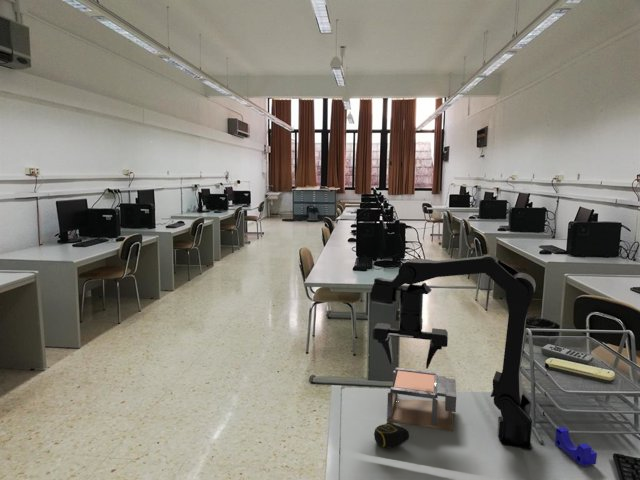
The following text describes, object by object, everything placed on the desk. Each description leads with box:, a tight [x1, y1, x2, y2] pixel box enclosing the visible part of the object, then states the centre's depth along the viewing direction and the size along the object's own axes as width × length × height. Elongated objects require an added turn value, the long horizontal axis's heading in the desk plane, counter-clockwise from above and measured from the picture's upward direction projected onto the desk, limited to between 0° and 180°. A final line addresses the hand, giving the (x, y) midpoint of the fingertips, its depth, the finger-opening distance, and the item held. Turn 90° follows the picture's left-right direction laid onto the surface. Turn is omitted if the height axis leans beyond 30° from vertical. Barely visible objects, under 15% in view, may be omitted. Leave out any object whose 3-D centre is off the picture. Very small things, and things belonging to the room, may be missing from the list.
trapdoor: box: [394, 371, 457, 413], centre depth 112 cm, size 15×10×5 cm, turn 74°
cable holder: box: [554, 426, 598, 467], centre depth 96 cm, size 8×4×4 cm, turn 11°
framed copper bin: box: [386, 367, 454, 432], centre depth 113 cm, size 16×14×8 cm
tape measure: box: [373, 421, 410, 449], centre depth 98 cm, size 7×7×4 cm
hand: (408, 365), depth 112 cm, fingers open, 9 cm apart
